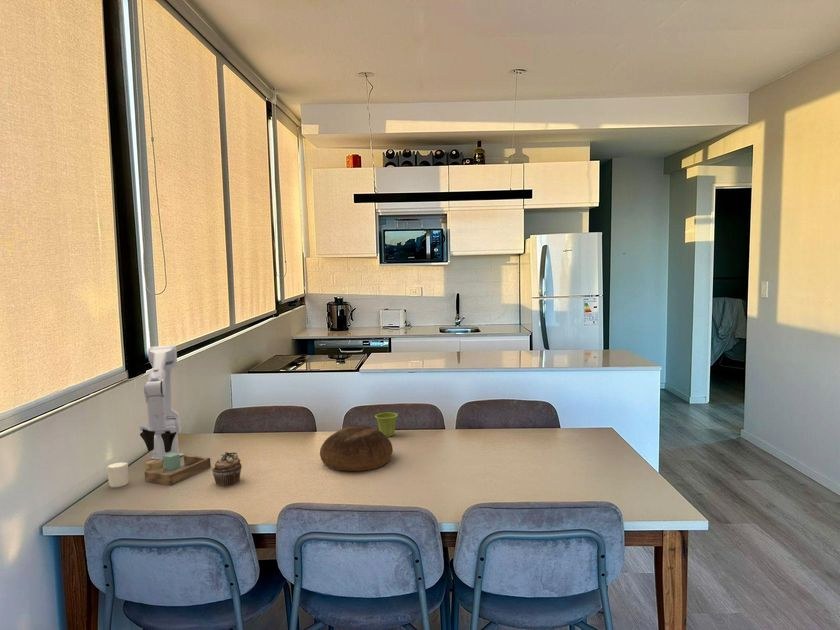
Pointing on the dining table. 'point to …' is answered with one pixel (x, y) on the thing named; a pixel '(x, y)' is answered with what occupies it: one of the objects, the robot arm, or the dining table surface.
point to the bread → (356, 449)
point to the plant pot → (387, 423)
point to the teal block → (171, 461)
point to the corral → (180, 471)
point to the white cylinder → (117, 474)
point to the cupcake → (227, 470)
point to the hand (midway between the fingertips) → (159, 451)
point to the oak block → (154, 466)
